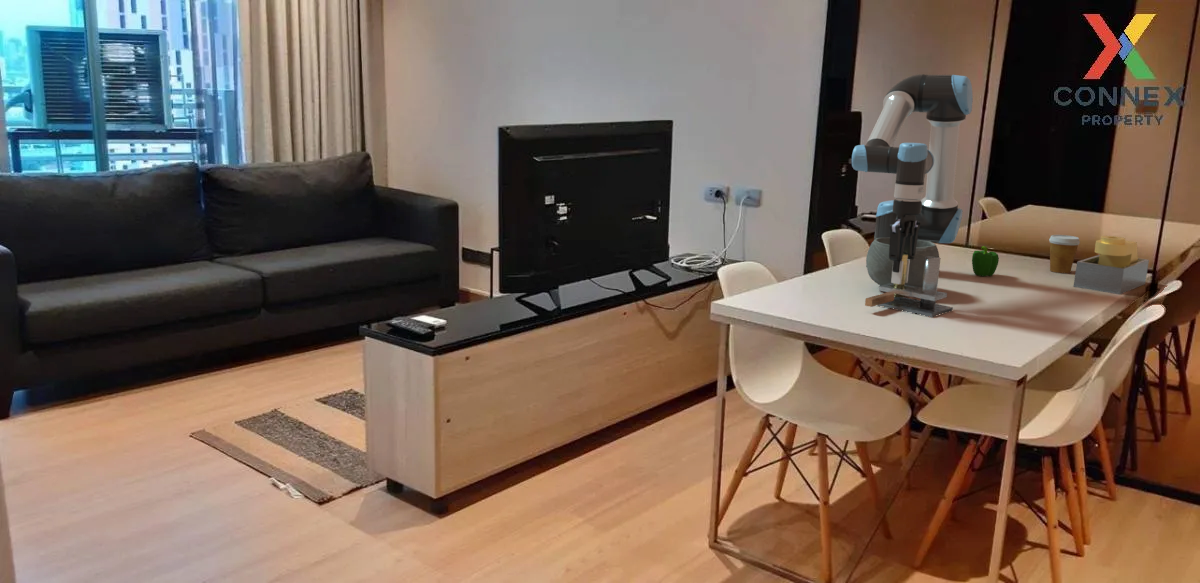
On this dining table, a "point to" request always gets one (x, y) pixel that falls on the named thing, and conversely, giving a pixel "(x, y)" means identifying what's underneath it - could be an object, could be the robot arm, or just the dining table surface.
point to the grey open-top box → (1110, 276)
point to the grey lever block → (915, 293)
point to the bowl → (882, 265)
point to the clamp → (1116, 251)
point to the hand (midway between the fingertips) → (899, 282)
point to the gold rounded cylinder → (902, 285)
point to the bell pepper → (984, 262)
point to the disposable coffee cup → (1062, 252)
